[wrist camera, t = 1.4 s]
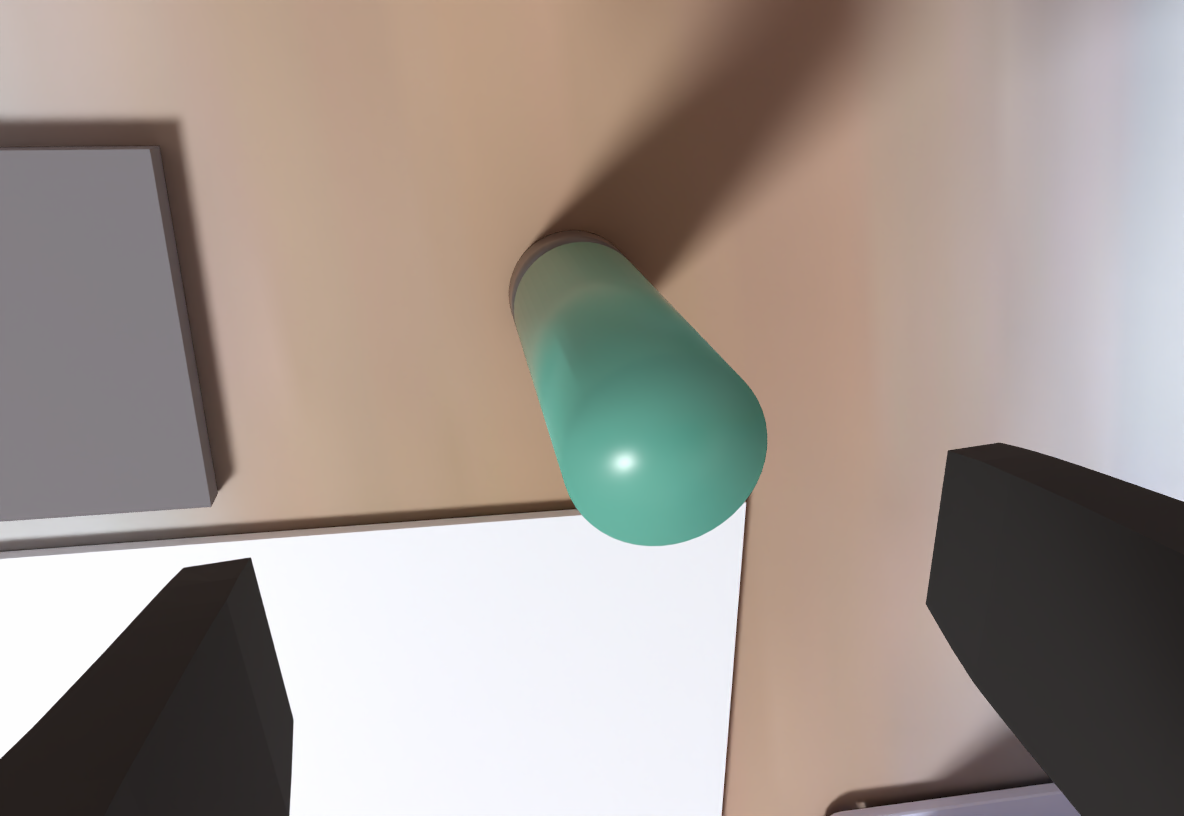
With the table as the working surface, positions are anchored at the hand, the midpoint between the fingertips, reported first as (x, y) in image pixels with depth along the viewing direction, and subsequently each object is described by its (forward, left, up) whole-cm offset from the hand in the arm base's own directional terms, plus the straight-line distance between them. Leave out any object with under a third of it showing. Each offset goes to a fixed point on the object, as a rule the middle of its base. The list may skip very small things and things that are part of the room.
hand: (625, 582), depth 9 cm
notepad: (+4, +10, -10) cm, 15 cm away
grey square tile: (+10, 0, -10) cm, 14 cm away
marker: (-1, -1, -10) cm, 10 cm away
